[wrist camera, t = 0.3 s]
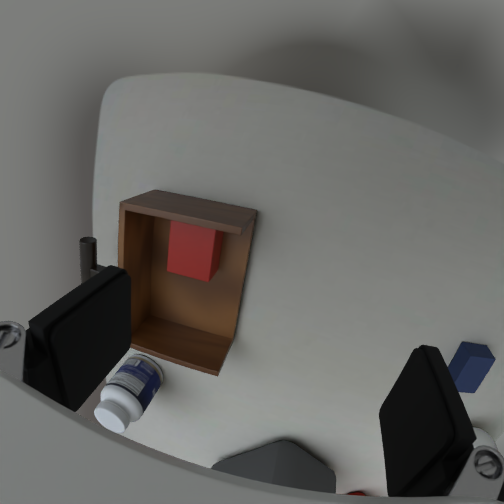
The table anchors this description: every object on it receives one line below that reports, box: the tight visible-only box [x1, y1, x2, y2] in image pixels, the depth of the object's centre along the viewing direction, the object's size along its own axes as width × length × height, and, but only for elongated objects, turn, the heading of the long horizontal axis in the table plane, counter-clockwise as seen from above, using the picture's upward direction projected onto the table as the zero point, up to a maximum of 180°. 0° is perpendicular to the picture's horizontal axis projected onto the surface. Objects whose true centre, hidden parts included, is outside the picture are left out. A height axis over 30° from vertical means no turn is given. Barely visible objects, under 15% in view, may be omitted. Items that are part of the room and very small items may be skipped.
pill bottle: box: [94, 355, 163, 433], centre depth 33 cm, size 5×5×10 cm
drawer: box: [80, 190, 257, 376], centre depth 28 cm, size 14×14×7 cm
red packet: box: [167, 220, 224, 282], centre depth 28 cm, size 5×4×3 cm
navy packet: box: [448, 342, 496, 393], centre depth 27 cm, size 5×4×3 cm
